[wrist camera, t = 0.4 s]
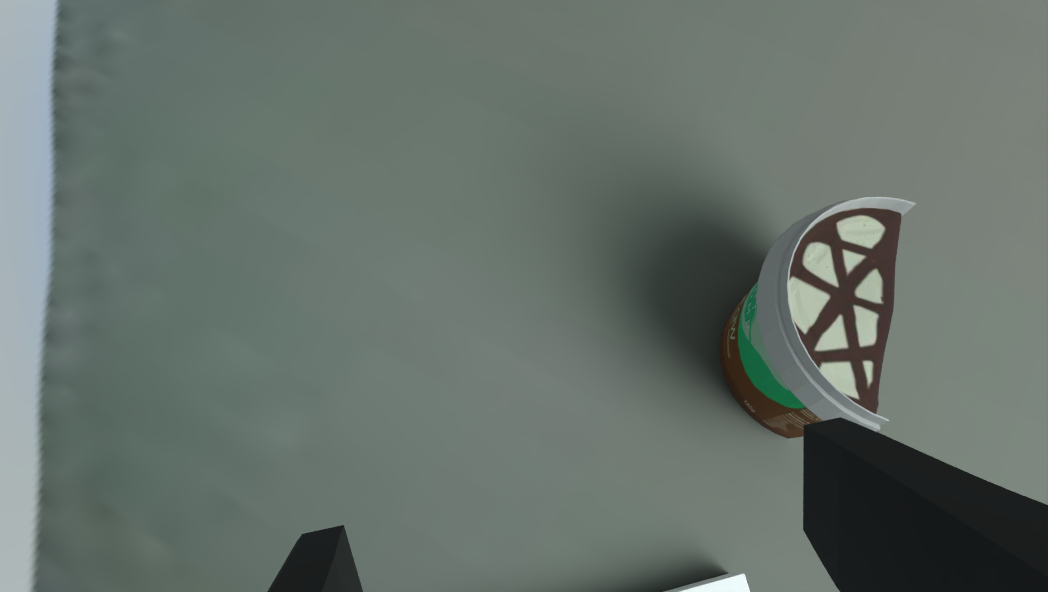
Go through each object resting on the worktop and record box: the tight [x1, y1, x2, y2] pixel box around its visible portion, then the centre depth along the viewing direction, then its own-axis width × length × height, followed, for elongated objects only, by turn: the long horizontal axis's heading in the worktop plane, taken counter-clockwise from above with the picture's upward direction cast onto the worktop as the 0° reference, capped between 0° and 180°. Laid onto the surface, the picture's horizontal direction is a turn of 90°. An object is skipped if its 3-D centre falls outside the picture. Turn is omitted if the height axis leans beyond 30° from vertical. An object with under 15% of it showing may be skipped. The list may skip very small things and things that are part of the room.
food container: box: [720, 197, 916, 438], centre depth 39 cm, size 12×6×10 cm, turn 163°
